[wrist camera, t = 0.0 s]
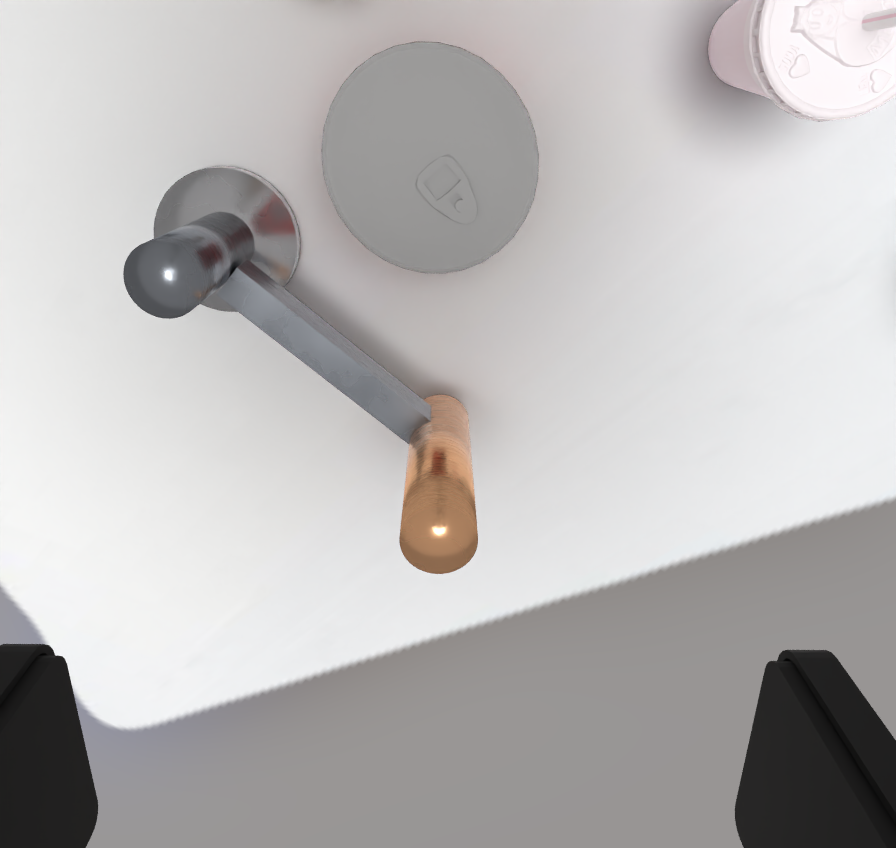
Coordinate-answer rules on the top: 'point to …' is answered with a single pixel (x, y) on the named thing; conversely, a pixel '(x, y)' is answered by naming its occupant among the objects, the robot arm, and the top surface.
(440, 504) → the double handled crank lever
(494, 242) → the canned food
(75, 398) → the top surface
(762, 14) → the smoothie
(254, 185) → the pivot base
